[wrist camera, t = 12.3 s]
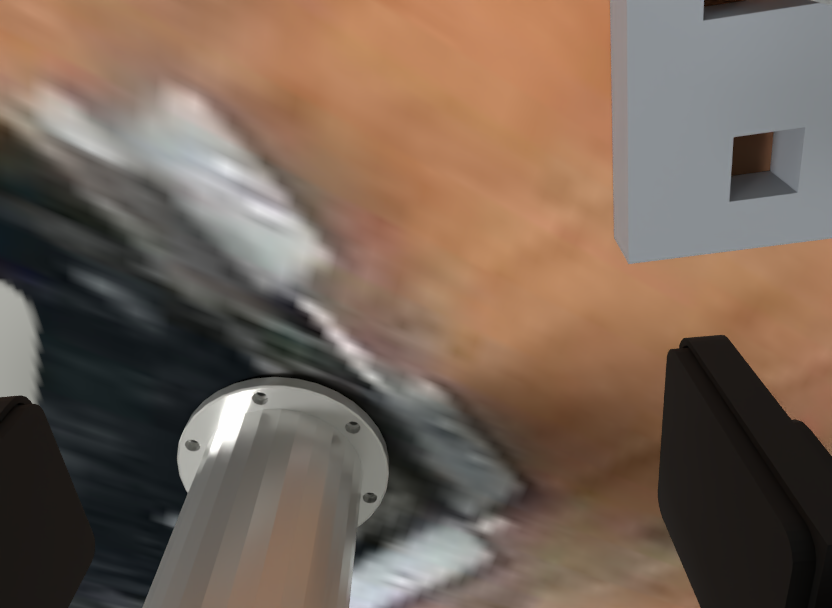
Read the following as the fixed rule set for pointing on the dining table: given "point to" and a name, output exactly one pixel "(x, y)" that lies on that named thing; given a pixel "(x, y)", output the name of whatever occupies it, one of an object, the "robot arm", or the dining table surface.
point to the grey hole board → (719, 124)
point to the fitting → (823, 1)
